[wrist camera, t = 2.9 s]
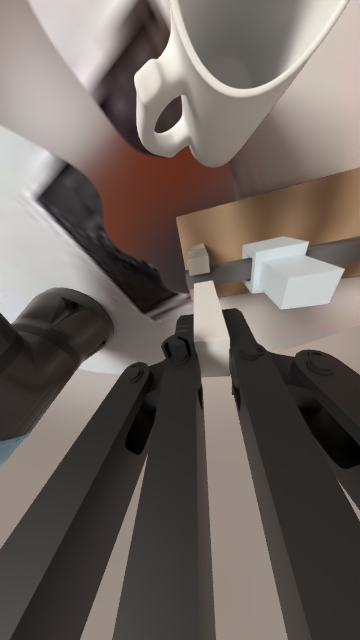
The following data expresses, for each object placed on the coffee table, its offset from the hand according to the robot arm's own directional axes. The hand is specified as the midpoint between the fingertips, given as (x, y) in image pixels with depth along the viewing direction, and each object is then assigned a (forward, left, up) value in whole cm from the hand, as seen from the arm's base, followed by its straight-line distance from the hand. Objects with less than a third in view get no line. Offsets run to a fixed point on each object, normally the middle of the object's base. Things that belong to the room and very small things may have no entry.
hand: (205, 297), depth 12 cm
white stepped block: (+7, 0, -7) cm, 10 cm away
